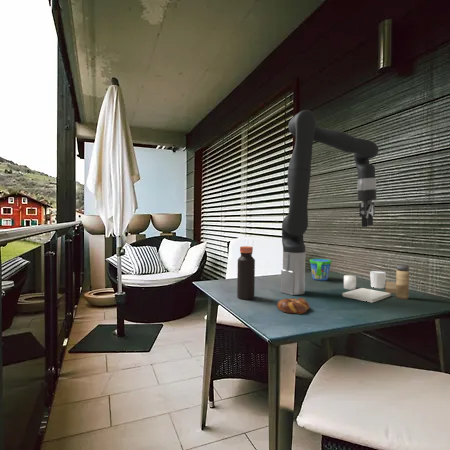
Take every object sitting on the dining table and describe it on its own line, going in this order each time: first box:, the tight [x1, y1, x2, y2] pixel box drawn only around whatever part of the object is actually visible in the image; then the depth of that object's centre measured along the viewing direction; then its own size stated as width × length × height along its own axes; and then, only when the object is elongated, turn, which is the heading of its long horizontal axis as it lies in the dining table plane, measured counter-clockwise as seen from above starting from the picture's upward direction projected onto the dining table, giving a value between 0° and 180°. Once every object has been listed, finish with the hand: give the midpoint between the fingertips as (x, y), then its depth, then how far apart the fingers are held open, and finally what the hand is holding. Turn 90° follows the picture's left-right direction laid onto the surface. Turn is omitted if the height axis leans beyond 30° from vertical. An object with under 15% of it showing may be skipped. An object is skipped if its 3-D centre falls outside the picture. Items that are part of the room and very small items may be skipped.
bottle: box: [236, 245, 256, 301], centre depth 120 cm, size 7×7×20 cm
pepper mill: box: [395, 264, 410, 300], centre depth 122 cm, size 4×4×13 cm
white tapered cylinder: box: [369, 270, 387, 289], centre depth 141 cm, size 7×7×7 cm
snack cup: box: [309, 258, 332, 282], centre depth 157 cm, size 16×10×10 cm
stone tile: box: [341, 287, 392, 304], centre depth 124 cm, size 16×12×1 cm
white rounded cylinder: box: [343, 274, 357, 291], centre depth 138 cm, size 5×5×6 cm
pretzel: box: [276, 297, 310, 315], centre depth 106 cm, size 12×11×4 cm
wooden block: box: [384, 281, 396, 294], centre depth 132 cm, size 4×4×4 cm
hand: (367, 226), depth 135 cm, fingers open, 8 cm apart
